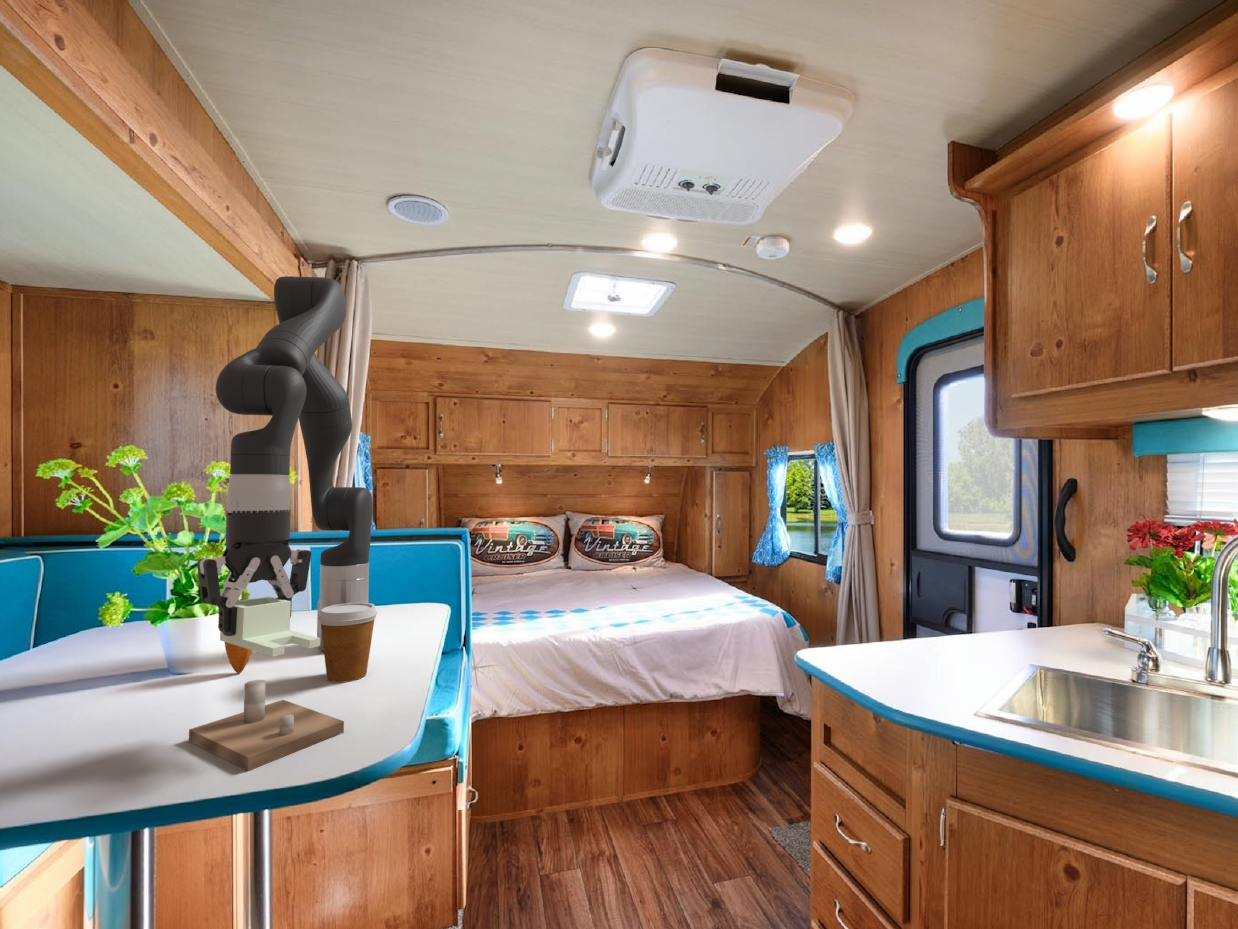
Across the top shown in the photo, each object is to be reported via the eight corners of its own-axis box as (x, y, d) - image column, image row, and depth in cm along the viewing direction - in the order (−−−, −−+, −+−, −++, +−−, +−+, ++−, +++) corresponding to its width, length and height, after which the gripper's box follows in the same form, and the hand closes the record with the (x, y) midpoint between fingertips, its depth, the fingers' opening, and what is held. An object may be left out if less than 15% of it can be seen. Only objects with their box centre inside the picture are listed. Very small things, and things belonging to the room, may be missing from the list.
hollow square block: (219, 640, 76) (221, 603, 76) (266, 631, 81) (268, 596, 81) (272, 656, 69) (274, 615, 69) (320, 645, 74) (321, 607, 74)
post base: (188, 741, 73) (190, 690, 74) (282, 709, 84) (283, 665, 84) (248, 770, 66) (249, 714, 66) (343, 732, 76) (344, 683, 76)
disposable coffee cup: (304, 680, 97) (305, 610, 97) (353, 664, 105) (354, 600, 105) (340, 689, 92) (341, 616, 93) (388, 672, 101) (389, 605, 101)
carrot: (235, 679, 97) (237, 592, 97) (215, 676, 98) (217, 590, 99) (262, 670, 102) (264, 587, 102) (242, 667, 103) (244, 585, 104)
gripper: (296, 506, 86) (293, 616, 85) (186, 508, 74) (181, 638, 73) (325, 506, 82) (322, 622, 81) (214, 509, 70) (209, 646, 69)
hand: (255, 629), depth 77 cm, fingers closed on hollow square block, 6 cm apart
